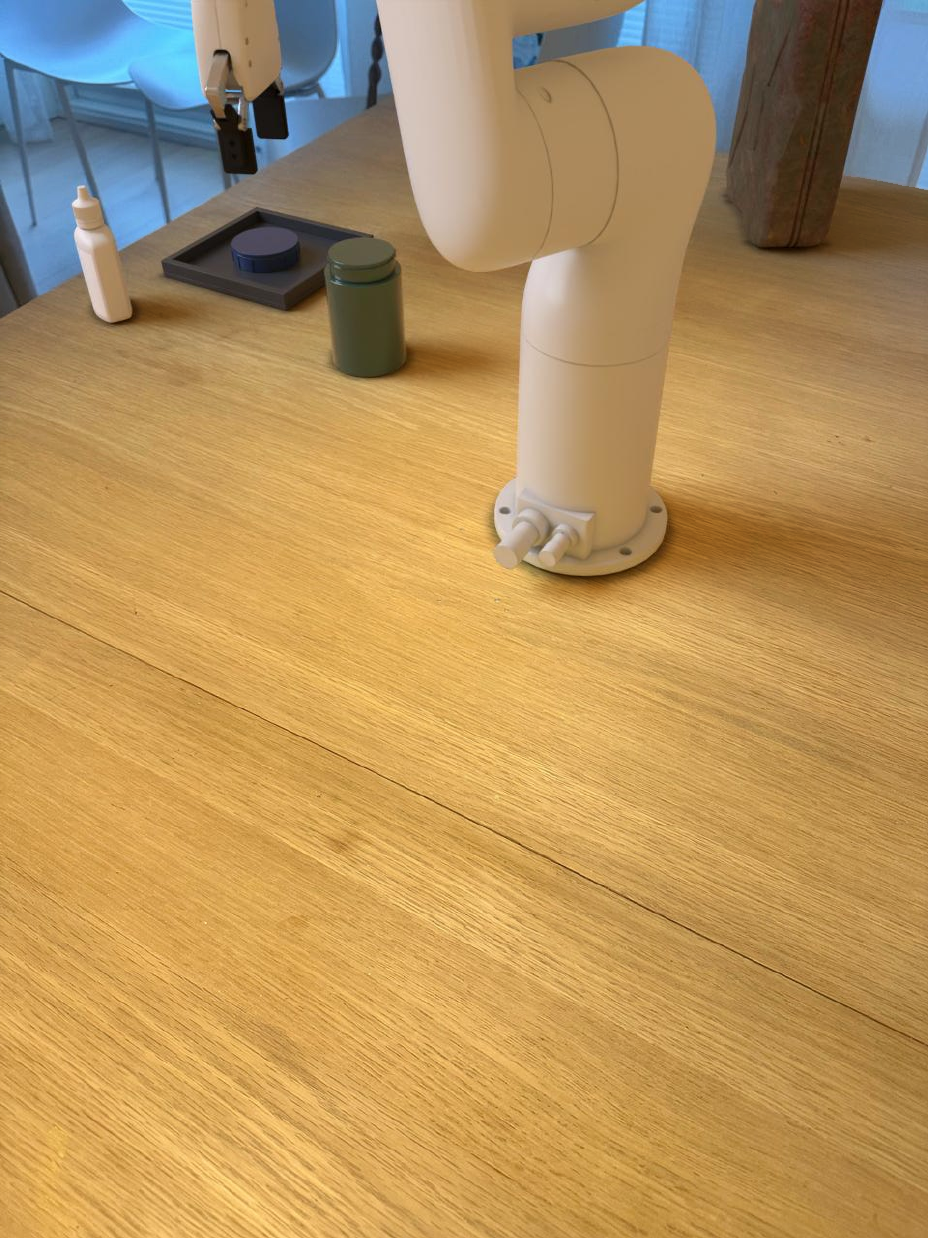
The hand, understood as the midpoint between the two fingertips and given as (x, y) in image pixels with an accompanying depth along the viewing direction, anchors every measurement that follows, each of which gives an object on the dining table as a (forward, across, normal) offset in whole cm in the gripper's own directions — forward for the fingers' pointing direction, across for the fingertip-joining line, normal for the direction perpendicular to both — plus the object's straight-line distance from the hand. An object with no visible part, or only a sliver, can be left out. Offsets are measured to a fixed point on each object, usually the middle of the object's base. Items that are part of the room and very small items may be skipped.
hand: (257, 154), depth 102 cm
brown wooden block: (+12, -20, +51) cm, 56 cm away
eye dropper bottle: (+11, +12, -12) cm, 21 cm away
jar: (+12, +17, +14) cm, 25 cm away
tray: (+11, 0, 0) cm, 11 cm away
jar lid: (+9, 0, -1) cm, 9 cm away
